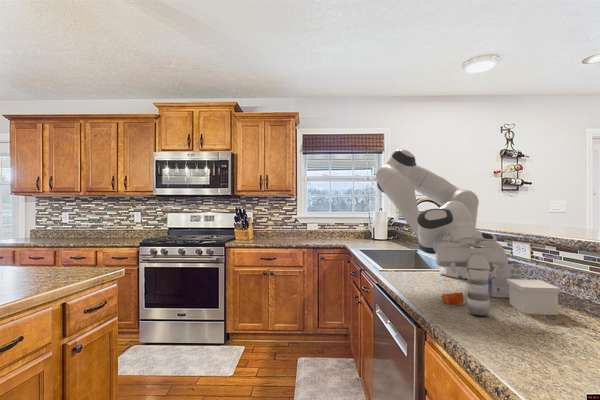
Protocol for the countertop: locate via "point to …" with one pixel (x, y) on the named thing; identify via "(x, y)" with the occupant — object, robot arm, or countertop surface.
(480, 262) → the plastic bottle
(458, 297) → the rock
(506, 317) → the countertop surface
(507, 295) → the ink cartridge box
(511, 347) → the countertop surface
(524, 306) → the white square block
